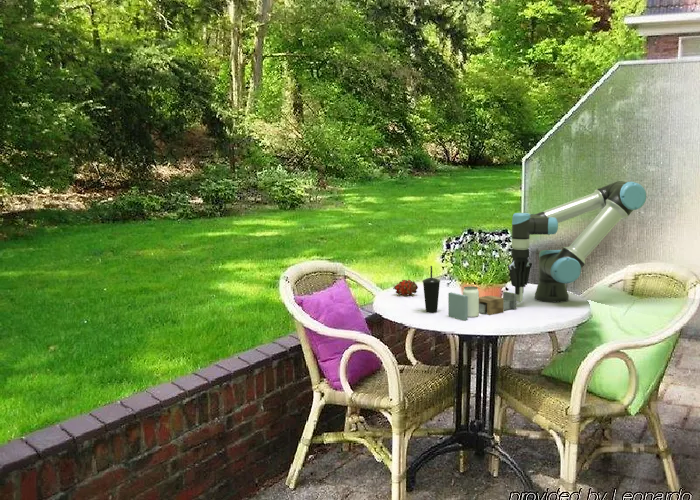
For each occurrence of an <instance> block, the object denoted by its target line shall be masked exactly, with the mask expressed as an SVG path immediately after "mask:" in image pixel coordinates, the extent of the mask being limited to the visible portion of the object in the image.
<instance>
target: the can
mask: <svg viewBox="0 0 700 500" xmlns="http://www.w3.org/2000/svg"><path fill="white" fill-rule="evenodd" d="M463 288H464V289H463V291H462V295H465V296H468V318H478V316H479V315H480V314H479V313H480V312H479V297H480V296H479V295H480V294H479V289H478V287H477V286H472V285H471V286H464V287H463Z"/></svg>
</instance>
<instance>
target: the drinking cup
mask: <svg viewBox="0 0 700 500" xmlns="http://www.w3.org/2000/svg"><path fill="white" fill-rule="evenodd" d="M422 284H423V296H424V297H423V298H424V307H425V313H428V314H435V313H438V306H439V293H440V285H441V279H438V278H436V277H433V266H432V265H430V277H427V278H425V279H423V280H422Z"/></svg>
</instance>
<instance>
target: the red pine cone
mask: <svg viewBox="0 0 700 500" xmlns="http://www.w3.org/2000/svg"><path fill="white" fill-rule="evenodd" d="M418 288H419V286H418V285H417V283H416V282H415V281H413V280H412V279H407V280H406V279H402V280H401V281H399V282H398V283H397V284H396V285H394V286H393V289H392V290H395V293H396V294H398V295H399V296H404V297H407V296H409V297H410V296H411V297H412V295H413V294H416V293H417V292H418Z"/></svg>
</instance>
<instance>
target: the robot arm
mask: <svg viewBox="0 0 700 500" xmlns="http://www.w3.org/2000/svg"><path fill="white" fill-rule="evenodd" d="M646 201H647V192H646V189H645V188H644V187H643V185H642V184H640V183H638V182H635V181H622V180H617V181H614V182H611V183H609V184H607V185H604V186H602V187H598V188H597V189H594V191H593V193H590V194H587V195H585V196H581V197H578V198H575V199H572V200H571V201H568V202H565V203H562V204H559V205H557V206H554V207H551V208H548V209H544V211H540V212H538V213H535V214H534V213H529V212H514V213H513V215H512V219H511V220H512V221H511V253H510V254H511V258H512V260H511V264H508V265H507V268H508V270H509V276H510V282H511V283H510V284H511V286H512V287H515V288H514V289H515V291H514V293H515V294H517V303H522V302H524V301H523V300H524V299H523V297H524V291H525V290H524V288H525V287H526V286H528V283H529V277H530V273H531V272H530V271H531V269H532V266H533V263H531V262H529V259H528V258H529V257H530V240H531V239H530V238H531V235H532V236H534V235H535V236H537V235H538V236H539V235H548V236H550V235H556V233H557V232H558V231H559V224H560V223H562V222H565V221H569V220H570V219H574V218H577V217H580V216H582V215H584V214H588V213H590V212H593V211H596V210H599V209H600V211H599V213H598V214H597V215H596V216H595V217H594V218H593V219H592V220H591V221H590V222H589V224H588V225H587V226H586V227H585V228H584V230H582V231H581V233H580V234H579V235H578V236H577V237H576V238H575V239H574V240H573V242H572V243H571V244H570V245H569V246H564V247H563V248H562V249H546V250H545V249H543V250H540V251H539V252H538V253H539V256H538V284H537V287H536V290H535V291H534V292H535V293H534V299H535V300H536V301H539V302H546V303H564V302H568V301H569V299H570V296H569V293H568V290H567V286H566V284H571V283H574V282H575V281H577V280H578V279H579V278H580V276H581V274H582V269H583V267H584V266H585V265H586V258H587V257H588V256H589V255H590V254H591V253H592V252H593V251H594V250H595V248H596V247H597V246H599V244H600V243H601V241H603V239H604V238H605V237H606V236H607V235H608V234H609V233H610V231H611V230H612V229H613V228H614V227H615V226H616V225H617V224H618V223H619V222H620V221H621V219H624V218H628V217H629V216H630V214H632V213H633V212H634V211H637V210H639V209H640V208H642V207H643V206H644V204H645V203H646Z"/></svg>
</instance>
